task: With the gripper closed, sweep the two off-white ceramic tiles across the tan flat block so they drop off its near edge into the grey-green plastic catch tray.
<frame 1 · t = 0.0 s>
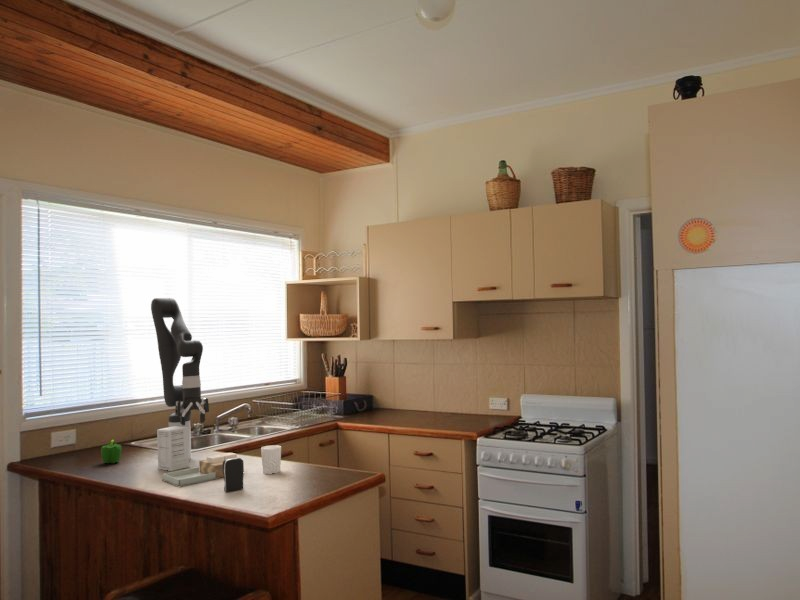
hand: (192, 424, 271), 17 cm above the countertop, tool pointing down, fingers open, 8 cm apart
bell pepper: (112, 463, 278), on the countertop
white cup: (271, 472, 251), on the countertop
tile back: (228, 459, 254), point 5 cm above the countertop, touching tan flat block
supplement box: (173, 468, 264), on the countertop
tile front: (215, 461, 250), point 5 cm above the countertop, touching tan flat block
tan flat block: (221, 473, 252), on the countertop
battery charger: (233, 490, 225), on the countertop
catch tray: (188, 479, 242), on the countertop
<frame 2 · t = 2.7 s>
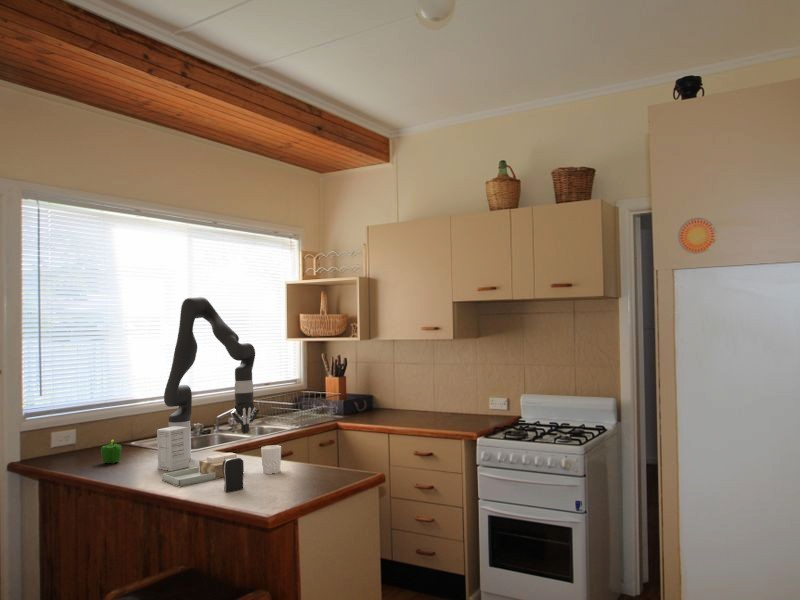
hand: (245, 433, 260), 14 cm above the countertop, tool pointing down, fingers closed
nothing on the countertop moved.
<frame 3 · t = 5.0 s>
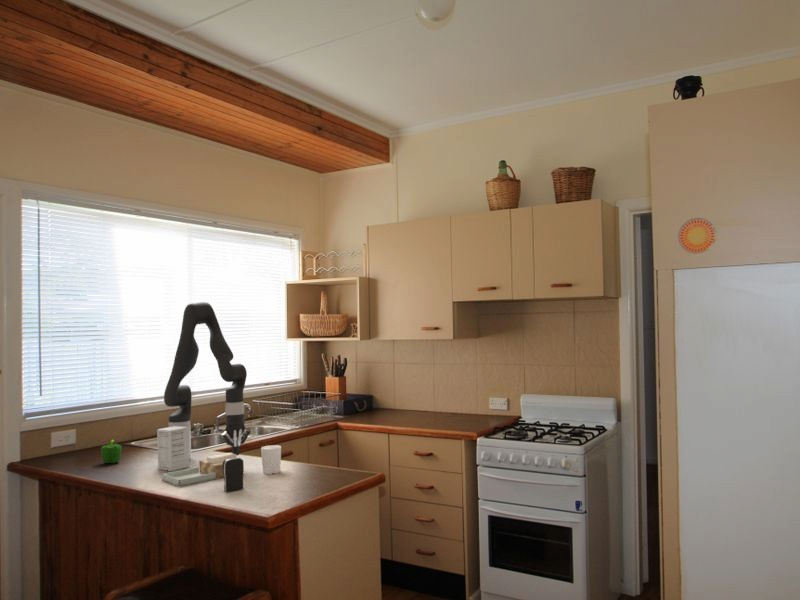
hand: (236, 455, 257), 6 cm above the countertop, tool pointing down, fingers closed
tile back: (227, 459, 254), point 5 cm above the countertop, touching gripper
everything else where it was.
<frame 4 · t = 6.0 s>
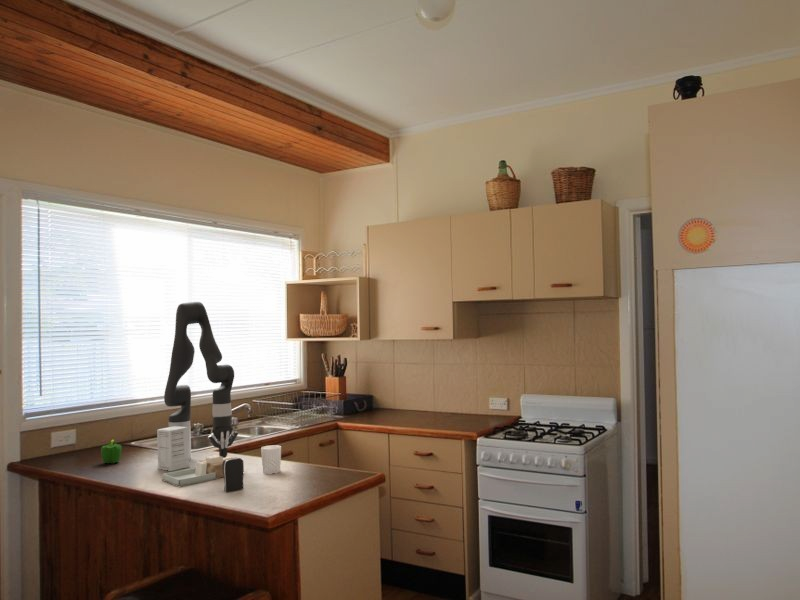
hand: (223, 457, 253), 6 cm above the countertop, tool pointing down, fingers closed
tile back: (214, 461, 250), point 5 cm above the countertop, touching gripper
tile front: (203, 468, 247), point 3 cm above the countertop, tilted 83°, touching catch tray
everything else where it was.
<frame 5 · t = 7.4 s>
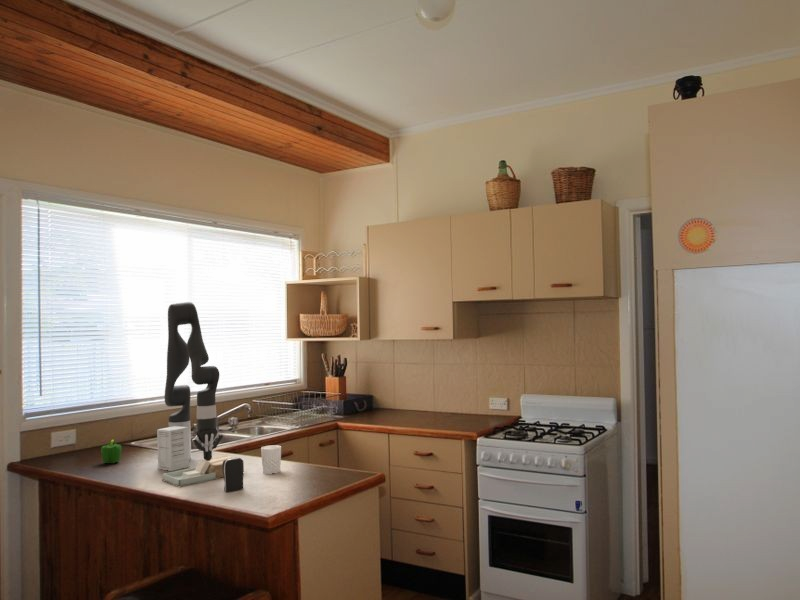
hand: (207, 460, 248), 6 cm above the countertop, tool pointing down, fingers closed
tile back: (204, 467, 247), point 3 cm above the countertop, tilted 54°, touching gripper, tile front
tile front: (191, 472, 243), point 3 cm above the countertop, tilted 180°, touching catch tray, tile back
everything else where it was.
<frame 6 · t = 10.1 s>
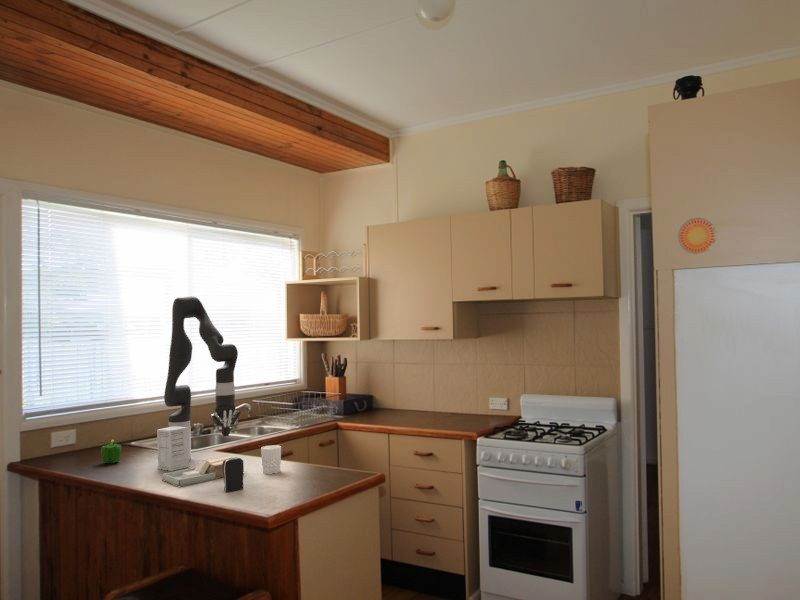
hand: (225, 436, 254), 14 cm above the countertop, tool pointing down, fingers closed
tile back: (204, 467, 247), point 3 cm above the countertop, tilted 51°, touching tan flat block, tile front
everything else where it was.
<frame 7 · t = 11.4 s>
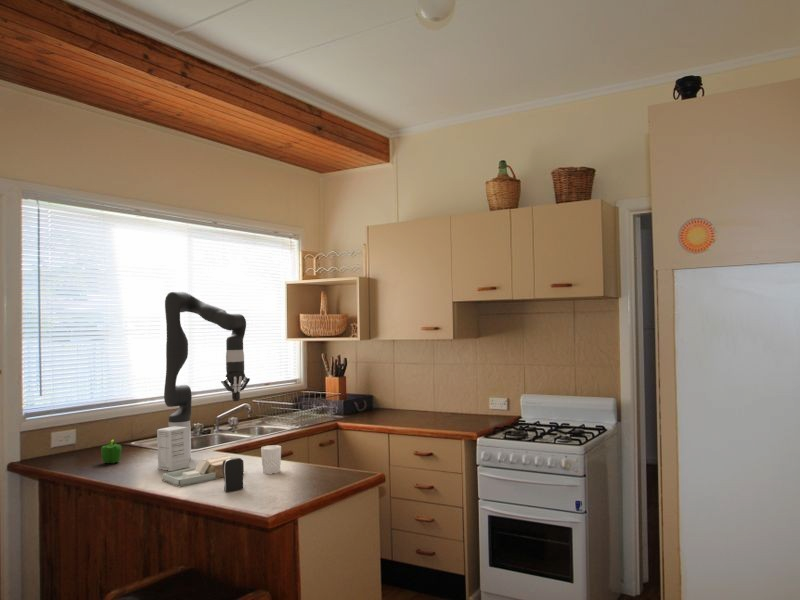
hand: (236, 401, 268), 27 cm above the countertop, tool pointing down, fingers closed
nothing on the countertop moved.
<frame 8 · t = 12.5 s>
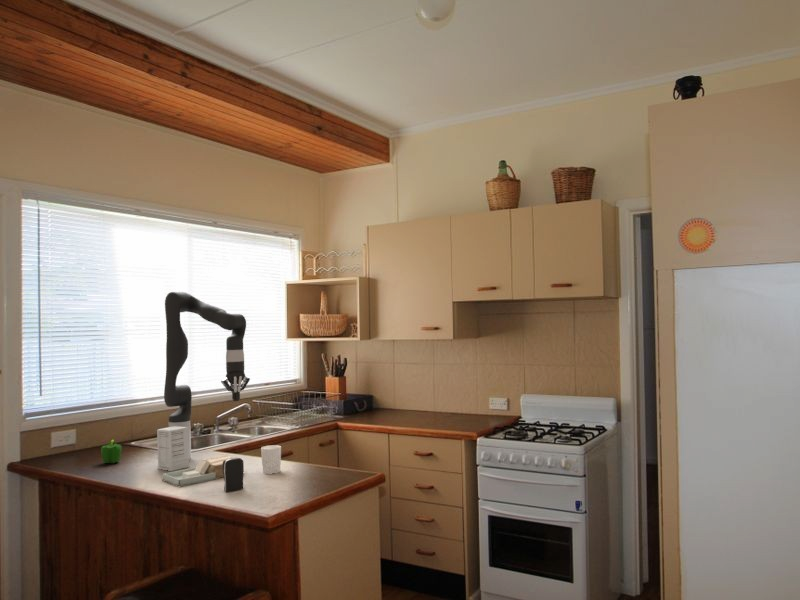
hand: (236, 400, 268), 27 cm above the countertop, tool pointing down, fingers closed
nothing on the countertop moved.
at the end: tile front inside the target area on the catch tray (0.9 cm from its centre), point 2.6 cm above the catch tray's base; tile back inside the target area on the catch tray (6.5 cm from its centre), point 3.3 cm above the catch tray's base; tile front point 2.6 cm above the countertop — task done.
